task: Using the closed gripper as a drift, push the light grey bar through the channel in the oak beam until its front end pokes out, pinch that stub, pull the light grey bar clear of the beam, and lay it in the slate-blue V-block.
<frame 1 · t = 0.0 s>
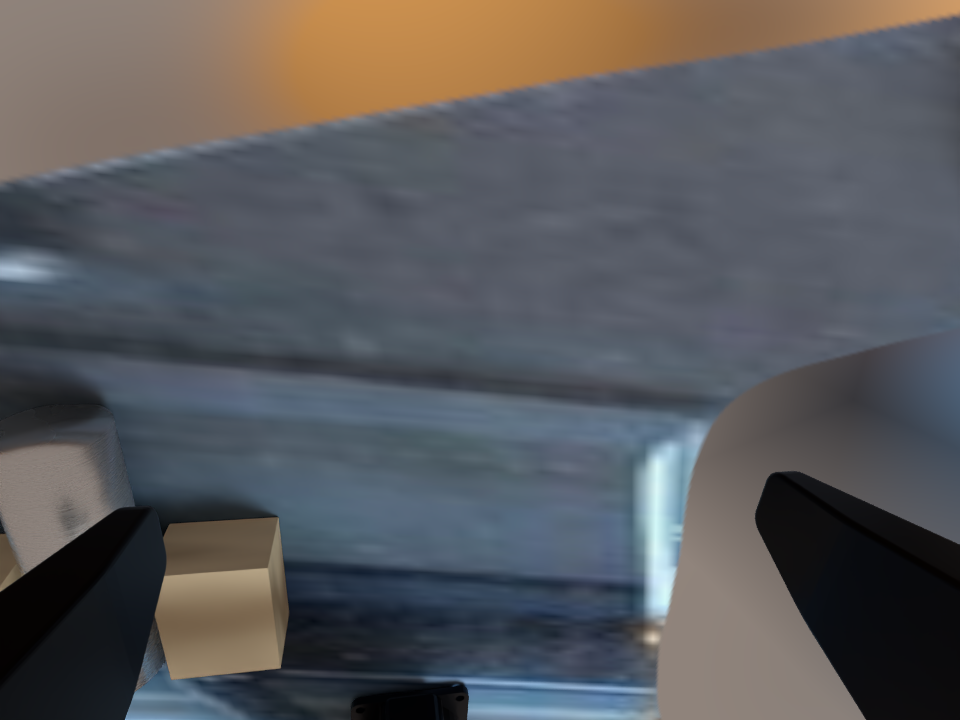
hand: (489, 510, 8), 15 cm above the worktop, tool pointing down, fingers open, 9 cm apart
beam: (120, 579, 26), on the worktop
light grey bar: (107, 523, 25), on the worktop
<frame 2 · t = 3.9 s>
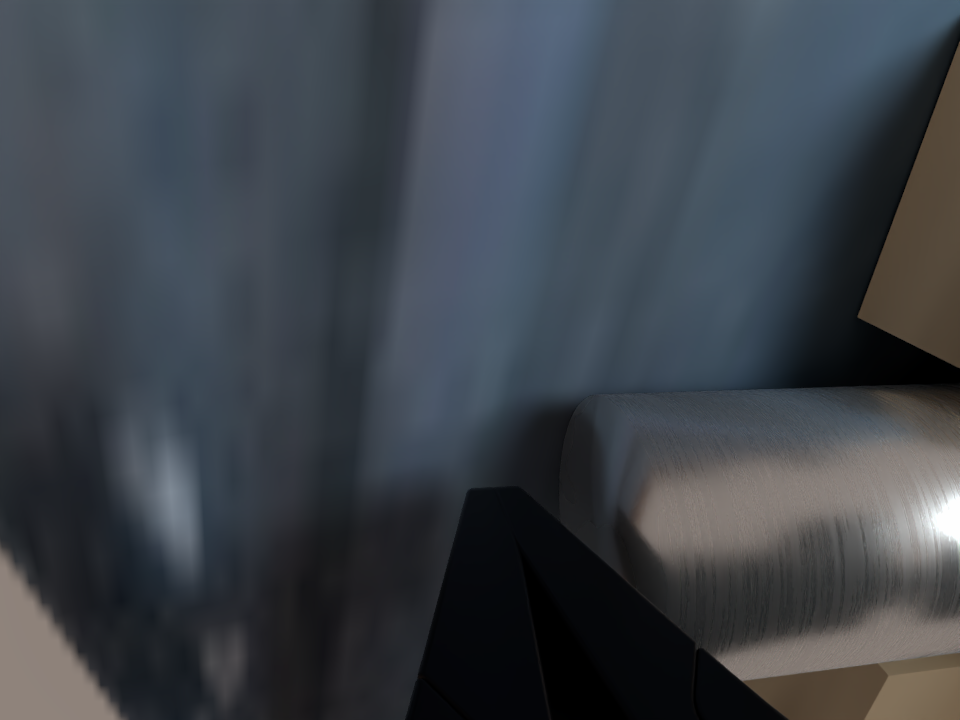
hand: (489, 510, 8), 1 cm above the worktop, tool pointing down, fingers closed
beam: (945, 434, 11), on the worktop
light grey bar: (861, 437, 11), on the worktop, touching gripper
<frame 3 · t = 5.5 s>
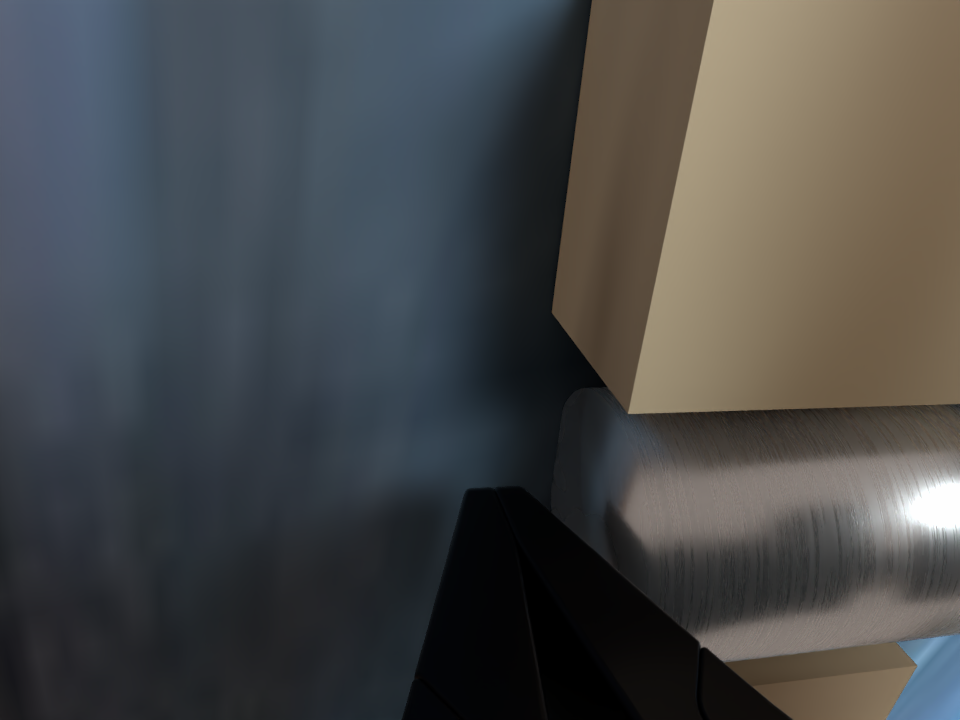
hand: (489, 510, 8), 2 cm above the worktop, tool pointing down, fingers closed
beam: (693, 441, 10), on the worktop
light grey bar: (848, 427, 11), on the worktop
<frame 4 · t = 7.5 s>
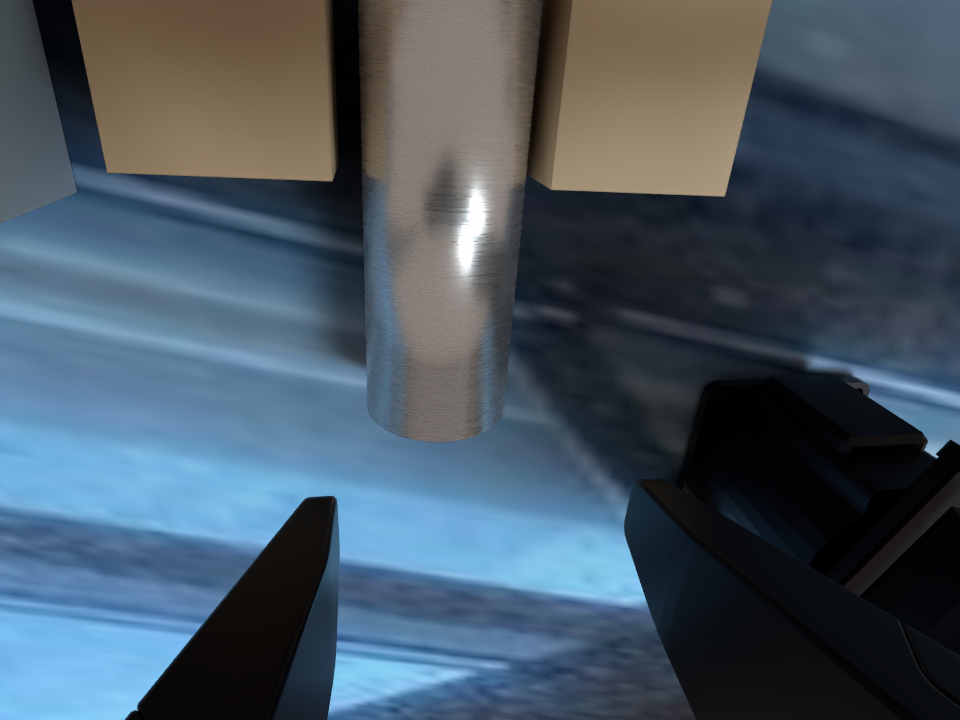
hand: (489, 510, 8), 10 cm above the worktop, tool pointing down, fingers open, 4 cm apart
beam: (436, 42, 14), on the worktop
light grey bar: (433, 182, 16), on the worktop
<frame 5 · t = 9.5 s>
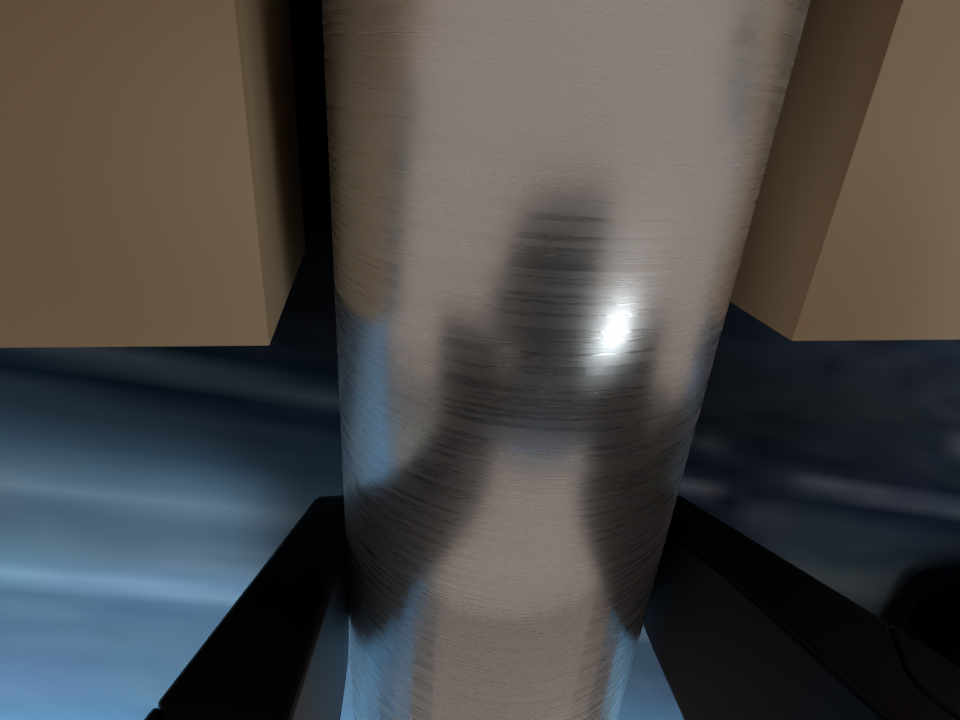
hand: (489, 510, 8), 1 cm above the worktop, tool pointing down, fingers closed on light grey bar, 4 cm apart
beam: (511, 1, 7), on the worktop
light grey bar: (492, 277, 8), on the worktop, touching gripper
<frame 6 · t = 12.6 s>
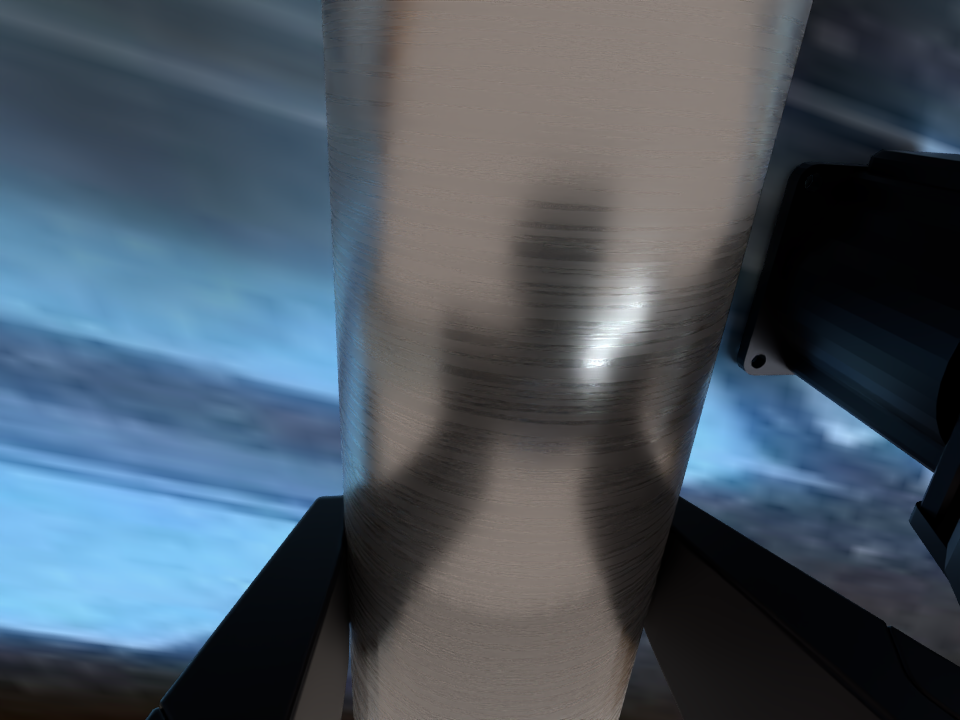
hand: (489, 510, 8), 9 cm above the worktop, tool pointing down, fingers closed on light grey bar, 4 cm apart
light grey bar: (493, 272, 8), point 8 cm above the worktop, touching gripper
when the fingers open (5 cm above the worktop, at t = 15.8 s): light grey bar drops 2 cm, resting on v block.
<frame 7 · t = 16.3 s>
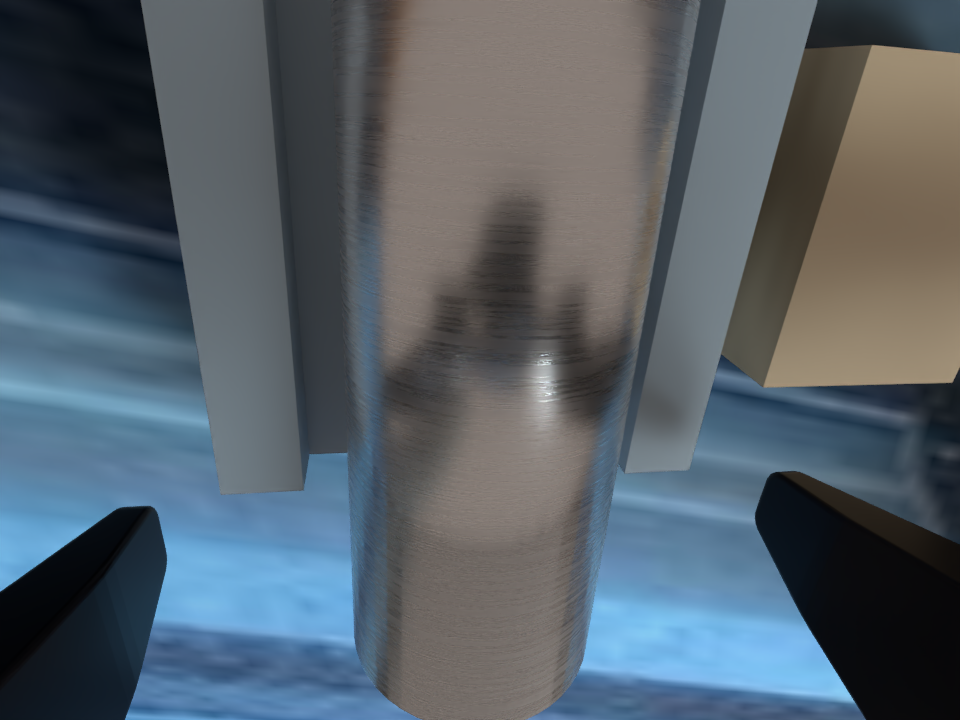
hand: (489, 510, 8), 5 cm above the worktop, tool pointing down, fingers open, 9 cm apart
v block: (451, 194, 12), on the worktop
light grey bar: (475, 252, 10), point 3 cm above the worktop, touching v block
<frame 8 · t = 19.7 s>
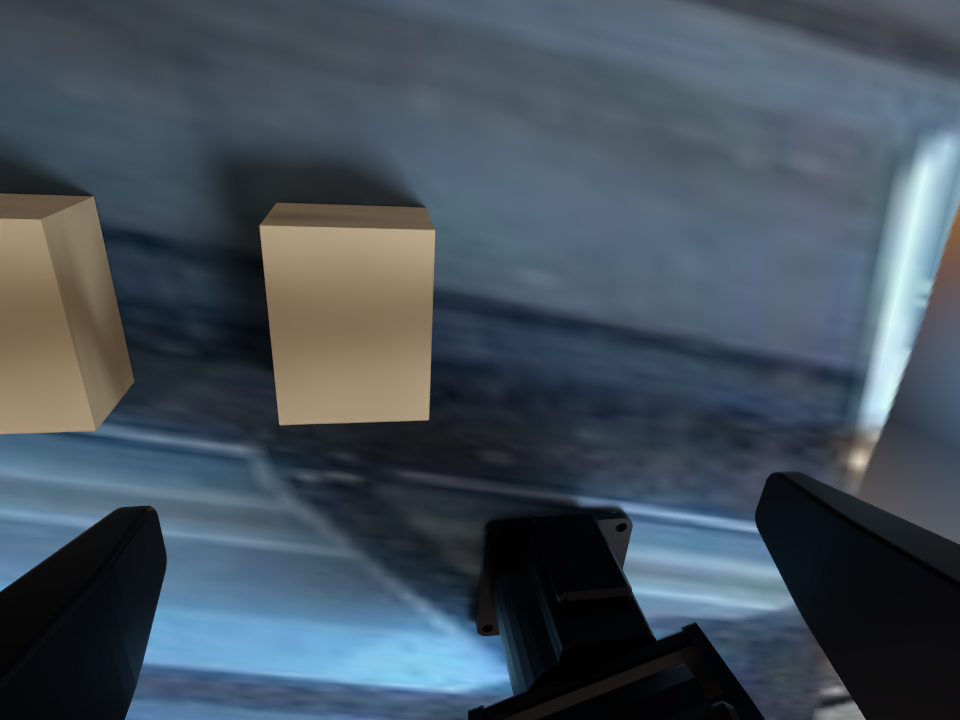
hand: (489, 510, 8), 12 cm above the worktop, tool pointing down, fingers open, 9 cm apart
beam: (202, 296, 18), on the worktop
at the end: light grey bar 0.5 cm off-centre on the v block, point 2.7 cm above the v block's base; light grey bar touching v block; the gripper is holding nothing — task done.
